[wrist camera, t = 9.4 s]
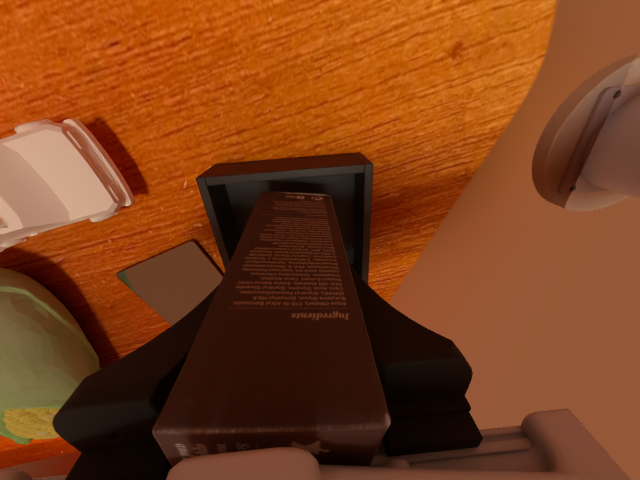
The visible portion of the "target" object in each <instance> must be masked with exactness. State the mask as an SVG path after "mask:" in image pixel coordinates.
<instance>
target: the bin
mask: <svg viewBox="0 0 640 480" xmlns="http://www.w3.org/2000/svg"><path fill="white" fill-rule="evenodd" d="M196 181H197V184H198V187H199V190H200V193H201V196H202V199H203V202H204V206H205V209H206V212H207V215H208V218H209V221H210V224H211V227H212V230H213V233H214V236H215V239H216V242H217V245H218V248H219V252H220V255H221V258H222V261H223V264H224V267H225V270H226V269H227V267H228V264H229V262H230V261H231V258H232V257H233V254H234V252H235V250H236V248H237V245H238V243H239V241H240V239H241V236H242V234H243V232H244V229H245V227H246V225H247V222H248V220H249V218H250V216H251V214H252V212H253V209H254V207H255V205H256V203H257V201H258V198H259V196H260V194H261V192H262V191H264V192H271V191H272V192H290V193H298V192H299V193H311V194H314V193H319V194H324V195H330V196H331V199H332V202H333V206H334V210H335V213H336V217H337V221H338V225H339V229H340V232H341V237H342V240H343V243H344V247H345V251H346V255H347V258H348V261H349V263H350V264H351V266H352V267H353V268H354V270H355V271H356V272H357V273H358V274H359V276H360V277H361V278H362V279H363V280H364V281H365V282H366V283H367V284H368V272H369V250H370V227H371V204H372V181H373V163H372V162H371V161H369V160H368V159H367V158H366V157H365V156H364V155H362V154H361V153H348V154H336V155H324V156H311V157H299V158H287V159H274V160H262V161H250V162H237V163H225V164H215V165H214V166H212V167H211V168H209V169H208V170H207V171H205V172H204V173H202V174H201V175H200V176H198V177H197V178H196Z"/></svg>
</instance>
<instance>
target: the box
mask: <svg viewBox="0 0 640 480" xmlns="http://www.w3.org/2000/svg"><path fill="white" fill-rule="evenodd" d="M390 424H391V423H390V415H389V412H388V408H387V404H386V400H385V396H384V392H383V388H382V385H381V381H380V378H379V374H378V371H377V367H376V363H375V360H374V356H373V352H372V348H371V343H370V339H369V336H368V332H367V329H366V325H365V322H364V318H363V313H362V310H361V306H360V303H359V299H358V296H357V291H356V288H355V285H354V281H353V277H352V273H351V270H350V266H349V262H348V258H347V255H346V251H345V247H344V243H343V240H342V237H341V232H340V229H339V225H338V221H337V217H336V213H335V210H334V206H333V202H332V199H331V196H330V195H324V194H319V193H314V194H311V193H299V192H298V193H290V192H272V191H271V192H264V191H262V192H261V194H260V196H259V198H258V201H257V203H256V205H255V207H254V209H253V212H252V214H251V216H250V218H249V220H248V222H247V225H246V227H245V229H244V232H243V234H242V236H241V239H240V241H239V243H238V245H237V248H236V250H235V252H234V254H233V257H232V258H231V261H230V262H229V264H228V267H227V269H226V272H225V274H224V276H223V278H222V281H221V283H220V285H219V287H218V289H217V291H216V294H215V296H214V299H213V301H212V303H211V305H210V307H209V309H208V311H207V313H206V315H205V318H204V320H203V323H202V325H201V327H200V329H199V331H198V333H197V335H196V338H195V340H194V342H193V344H192V347H191V349H190V351H189V353H188V356H187V358H186V361H185V363H184V365H183V367H182V369H181V372H180V374H179V376H178V378H177V380H176V382H175V384H174V386H173V388H172V390H171V392H170V394H169V397H168V399H167V401H166V403H165V405H164V407H163V409H162V412H161V414H160V415H159V417H158V419H157V421H156V423H155V425H154V427H153V429H152V433H153V436H154V437H155V439H156V441H157V442H158V444H159V445H160V447H161V449H162V451H163V452H164V454H165V456H166V458H167V459H168V461H169V462H170V464H171V466H172V467H174V466H175V465H177V464H178V463H179V462H180V461H182V460H183V459H188V458H192V457H196V456H202V455H212V454H221V453H230V452H239V451H249V450H258V449H267V448H276V447H296V448H300V449H303V450H307V451H309V452H310V453H311V454H312V455H313V456H314V457H315V459H316V460H317V461H318V465H346V466H371V463H372V461H373V458H374V455H375V454H376V452H377V450H378V447H379V445H380V443H381V441H382V439H383V436H384V434H385V432H386V430H387V429H388V427H389V425H390Z"/></svg>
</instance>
